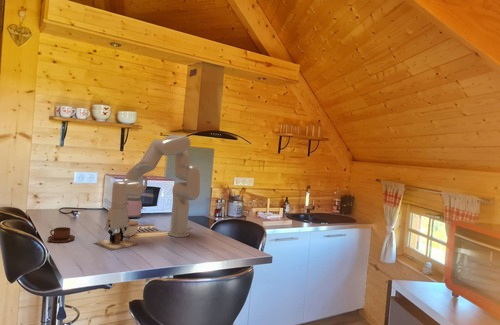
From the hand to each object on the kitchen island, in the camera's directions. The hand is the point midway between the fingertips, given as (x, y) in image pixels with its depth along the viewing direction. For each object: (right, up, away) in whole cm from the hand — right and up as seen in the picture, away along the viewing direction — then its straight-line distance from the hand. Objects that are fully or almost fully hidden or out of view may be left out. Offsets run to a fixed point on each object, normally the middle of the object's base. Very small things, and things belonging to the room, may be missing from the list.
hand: (116, 241), depth 175 cm
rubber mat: (0, -2, 0) cm, 2 cm away
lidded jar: (-1, -2, +19) cm, 19 cm away
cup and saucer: (-27, 0, -1) cm, 27 cm away
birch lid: (0, -2, 0) cm, 1 cm away
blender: (-14, +1, +68) cm, 69 cm away
